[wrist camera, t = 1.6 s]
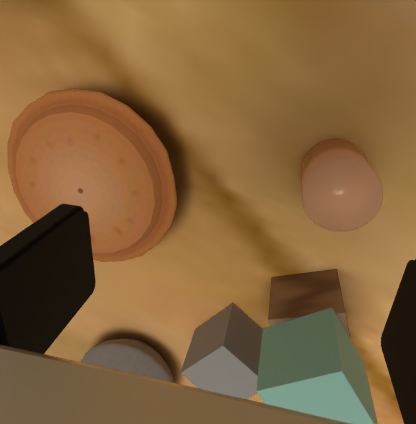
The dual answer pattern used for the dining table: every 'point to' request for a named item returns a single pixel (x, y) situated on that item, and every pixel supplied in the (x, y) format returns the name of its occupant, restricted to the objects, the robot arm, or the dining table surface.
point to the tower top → (315, 369)
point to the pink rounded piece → (339, 186)
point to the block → (225, 354)
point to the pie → (94, 169)
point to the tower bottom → (305, 296)
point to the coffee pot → (129, 358)
